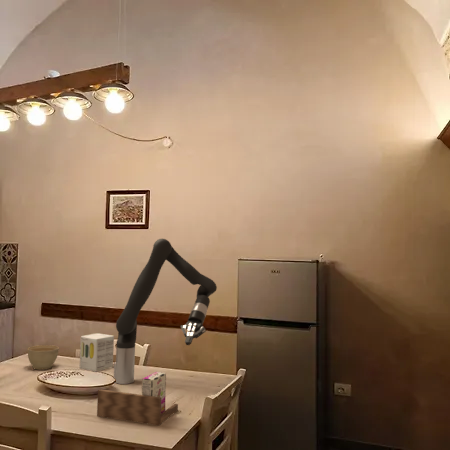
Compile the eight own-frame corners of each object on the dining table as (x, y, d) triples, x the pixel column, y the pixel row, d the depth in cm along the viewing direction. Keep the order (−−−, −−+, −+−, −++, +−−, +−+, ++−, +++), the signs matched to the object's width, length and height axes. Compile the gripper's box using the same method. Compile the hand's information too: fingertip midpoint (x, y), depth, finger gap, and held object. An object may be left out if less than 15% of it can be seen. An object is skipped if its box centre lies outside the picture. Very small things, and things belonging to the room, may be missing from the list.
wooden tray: (96, 415, 185) (98, 390, 186) (120, 402, 202) (121, 378, 203) (158, 425, 177) (159, 398, 178) (177, 410, 194) (178, 385, 195)
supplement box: (78, 368, 257) (79, 336, 258) (96, 363, 268) (97, 332, 269) (95, 372, 250) (96, 339, 251) (113, 367, 261) (114, 335, 262)
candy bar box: (154, 411, 192) (156, 371, 193) (165, 413, 190) (166, 372, 191) (140, 420, 181) (141, 377, 182) (151, 422, 179) (152, 379, 180)
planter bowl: (51, 372, 247) (52, 351, 248) (21, 371, 247) (22, 350, 248) (62, 364, 263) (63, 345, 264) (34, 363, 263) (34, 344, 264)
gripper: (183, 308, 229) (172, 338, 217) (209, 310, 225) (198, 340, 212) (187, 318, 234) (176, 347, 221) (212, 320, 229) (202, 350, 217)
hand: (187, 344), depth 217 cm, fingers closed
